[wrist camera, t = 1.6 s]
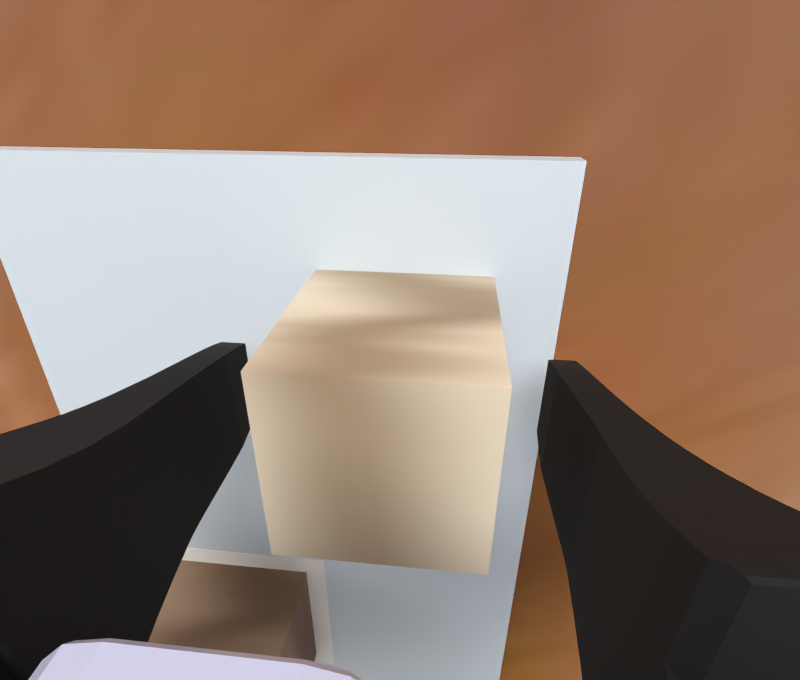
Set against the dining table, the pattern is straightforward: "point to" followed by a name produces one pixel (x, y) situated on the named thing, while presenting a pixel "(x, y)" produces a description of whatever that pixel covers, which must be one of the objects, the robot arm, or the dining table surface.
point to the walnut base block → (238, 611)
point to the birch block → (382, 420)
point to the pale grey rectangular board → (264, 305)
